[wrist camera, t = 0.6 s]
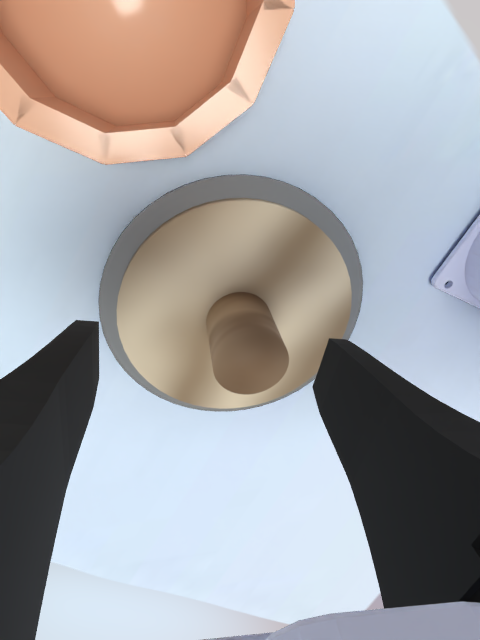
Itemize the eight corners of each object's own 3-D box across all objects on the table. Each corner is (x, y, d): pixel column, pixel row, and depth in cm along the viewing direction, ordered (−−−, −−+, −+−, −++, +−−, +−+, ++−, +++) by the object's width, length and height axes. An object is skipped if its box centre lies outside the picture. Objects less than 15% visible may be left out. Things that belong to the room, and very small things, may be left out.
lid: (390, 255, 21) (440, 294, 17) (279, 418, 27) (299, 477, 23) (169, 150, 17) (167, 168, 13) (89, 369, 22) (70, 432, 18)
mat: (410, 244, 22) (414, 246, 21) (283, 427, 28) (285, 431, 27) (155, 115, 17) (154, 116, 16) (68, 373, 23) (67, 378, 22)
